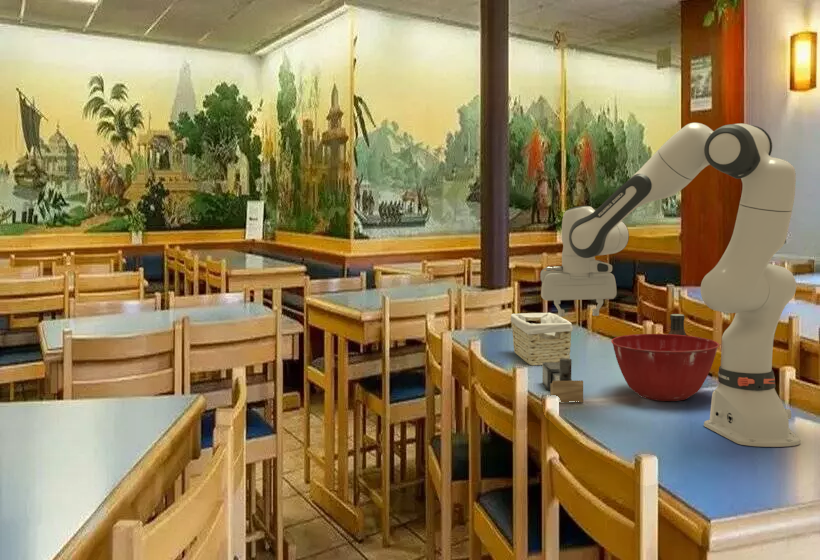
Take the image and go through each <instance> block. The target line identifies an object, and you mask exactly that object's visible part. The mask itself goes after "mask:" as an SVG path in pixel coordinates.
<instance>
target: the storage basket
mask: <svg viewBox="0 0 820 560" xmlns="http://www.w3.org/2000/svg"><path fill="white" fill-rule="evenodd" d="M529 321H534V322H535V321H540V323H530V322H529ZM510 322H511V329H512V343H513V351H514V354H516V355H517V356H518V357H520V358H521V360H522V361H524V362H525V363H527V364H528V365H529V366H534V365H535V366H543V362H560V359H562V358H568V359H571V347H572V343H571V341H572V332H573V330H574V328H573V324H572V322H570V321H569V320H568V319H566V318H563V316H562V317H559V316H558V314H557V313H552V312H527V313H526V312H525V313H524V312H521V313H511V314H510Z"/></svg>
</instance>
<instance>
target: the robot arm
mask: <svg viewBox="0 0 820 560" xmlns="http://www.w3.org/2000/svg"><path fill="white" fill-rule="evenodd" d="M772 151H773V141H772V138H771V136H770V135H769V133H768V131H766V130H764V128H761V127H759V126H757V125H751V124H749V123H748V124H747V123H732V124H725V125H722V126H720V127H718V128H716V129H715V130H713V129H712V128H710V127H709V126H708V125H706V124H703V123H701V122H690V123H687V124H686V125H684V126H683V127H682V128H680V129H679V130H678V131H676V132H675V133H674V134H673V135H671V137H670V138H668V139H667V140H666V141H665V142H664V143H663V144H662V145H661V146H660V147H659V148H658V149H657V150H656V151H655V153H654V154H652V156H651V157H650V158H649V159H648V160H647V161H646V162H645V163H644V164H643V165H642V166H641V167H640V168H639V169H638V170H637V171H636V172H635V173H634V174H633V175H632V176H631V177H630V178H629V179H628V180H626V182H624V183H623V184H622V185H621V186H620V187H618V189H616V191H614V192H613V193H612V194H611V195H610V196H609V197H608V198H607V199H606V200H605V201H604V202H603V203H602V204H601V205H600V206H599V207H597V208H596V209H595V208H593V207H592V206H589V205H581V206H574V207H570V208H568V209H567V210H565V212H564V214H563V216H562V220H561V242H562V245H563V247H562V252H561V266H560V265H559V266H545V267H544V268H542V270H540V273H539V274H540V275H539V276H540V277H539V279H540V281H541V291H540V296H541V298H542V299H543V300H544V301H553V304H554V306H555V307H556V309H557V311H558V312H557V315H558V316H559V317H562V318H563V317H565V313H566V312H565V309H562V308H561V306H560V305H561V301H577V300H579V301H580V300H587V301H588V300H596V303H597V305H596V306H595V308H592V316H594V317H596V316H597V317H599V316H600V309H601V308H602V306H603V304H604V300H614V299H615V298H616V297H617V295H618V293H617V283H616V278H615V275H614V274H613V273H612V271H613V265H612V264H610V263H608V262H605V261H602V260H599V259H597V260H596V258H595V257H597V256H606V255H613V254H617V253H619V252H621V251H624V249H625V248H626V246H627V245H628V243H629V238H630V233H629V229H628V227H627V226H628V225H626V224H625V223H624V222H623V220H625V219H626V217H628V216H629V215H630V214H631V213H632V212H633V211H635V210H637V208H640V207H641V206H643V205H646V204H648V203H651V202H656V201H659V200H664V199H668V198H670V197H673V196H674V195H676V194H677V193H679V192H680V191H682V190H683V189H684V188H686V187H687V186H688V185H689V184H690V183H691V182H692V181H693V180H694V179H695V178H696V177H697V176H698V175H699V173H701V172H702V171H703V170H704V169H705V168H706V167H708V166H711V167H712V168H714V169H716V170H717V171H718V172H721V173H723V174H725V175H728V176H729V177H731V178H734V179H737V180H740V179H741V183H742V190H741V197H740V198H739V199H740V200H739V205H738V210H737V213H736V218H735V219H736V220H735V223H734V228H733V232H732V235H731V238H730V241H729V243H728V245H727V247H726V249H725V251H724V253H723V254H722V256H721V258H720V259H719V261H718V262H717V263H716V264H715V266H714V267H713V268H712V269H711V270H710V271H709V272H708V273H706V274H705V275H704V277H703V279H702V280H701V282H700V283H701V284H700V296H701V299H702V301H703V303H704V304H705V305H706V307H708V308H709V309H710V310H713V311H716V312H721V313H727V314H734V316H733V319H732V321H731V323H730V324H729V326H728V327H727V328H726V329H725V330H724V332H722V333H723V334H722V336H721V350H720V351H721V352H720V353H721V354H720V356H721V357H720V366H719V367H718V371H717V376H718V379H717V381H718V383H719V384H718V386H717V387H716V388H715V390H713V391H712V395H711V401H710V402H711V403H710V412H709V419H707V420H704V422H703V426H704V427H705V428H707V429H709V430H711V431H712V432H715V433H717V434H718V435H720V436H722V437H724V438H726V439H728V440H730V441H731V442H734V443H735V444H738V445H742V446H749V447H759V448H760V447H762V448H763V447H766V448H767V447H768V448H770V447H771V448H776V447H777V448H779V447H784V448H785V447H794V446H798V445H800V444H801V439H800V438H799V437H798V436H797V435H796V434H795V432H794V431H793V430H792V429H791V428H790V427H789V426H790V425H789V423H790V421H789V420H791V418H792V410H791V408H785V406H784V404H783V400H782V399H780V397H779V395H778V393H777V391H776V389H775V388H776V379H775V373H774V370H773V369H772V368H773V366H772V365H773V352H774V351H773V347H774V340H775V339H774V338H775V333H776V331H777V327H778V324H779V321H780V318H781V316H782V314H783V311H784V309H785V308H786V306H788V305H787V304H788V303H789V302H790V301H791V300H792V299H793V298H794V296H795V295H796V291H797V283H796V278H795V277H794V274H793V273H792V271H790V270H789V269H788V268H786V267H784V266H781V265H776V264H772V263H770V261H771V259H772V258H773V257H774V256H775V254H776V253H777V252H779V251H780V250H781V249H782V248H783V247H784V245H785V242H786V240H787V236H788V230H789V226H790V222H791V217H792V213H793V208H794V202H795V195H796V185H797V184H796V178H797V177H796V169H795V167H794V166H793V165H792V164H791V163H790V162H789V161H787V160H785V159H783V158H782V159H781V158H778V157H773V156H772V155H771V154H772Z"/></svg>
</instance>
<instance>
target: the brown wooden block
mask: <svg viewBox="0 0 820 560" xmlns="http://www.w3.org/2000/svg"><path fill="white" fill-rule="evenodd" d="M550 395H556V396H558V397H559V398H560V400H561V402H569V401H575V402H576V401H577V402H578V401H579V402H583V403H584V381H583V380H572V381H552V383H550Z"/></svg>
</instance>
